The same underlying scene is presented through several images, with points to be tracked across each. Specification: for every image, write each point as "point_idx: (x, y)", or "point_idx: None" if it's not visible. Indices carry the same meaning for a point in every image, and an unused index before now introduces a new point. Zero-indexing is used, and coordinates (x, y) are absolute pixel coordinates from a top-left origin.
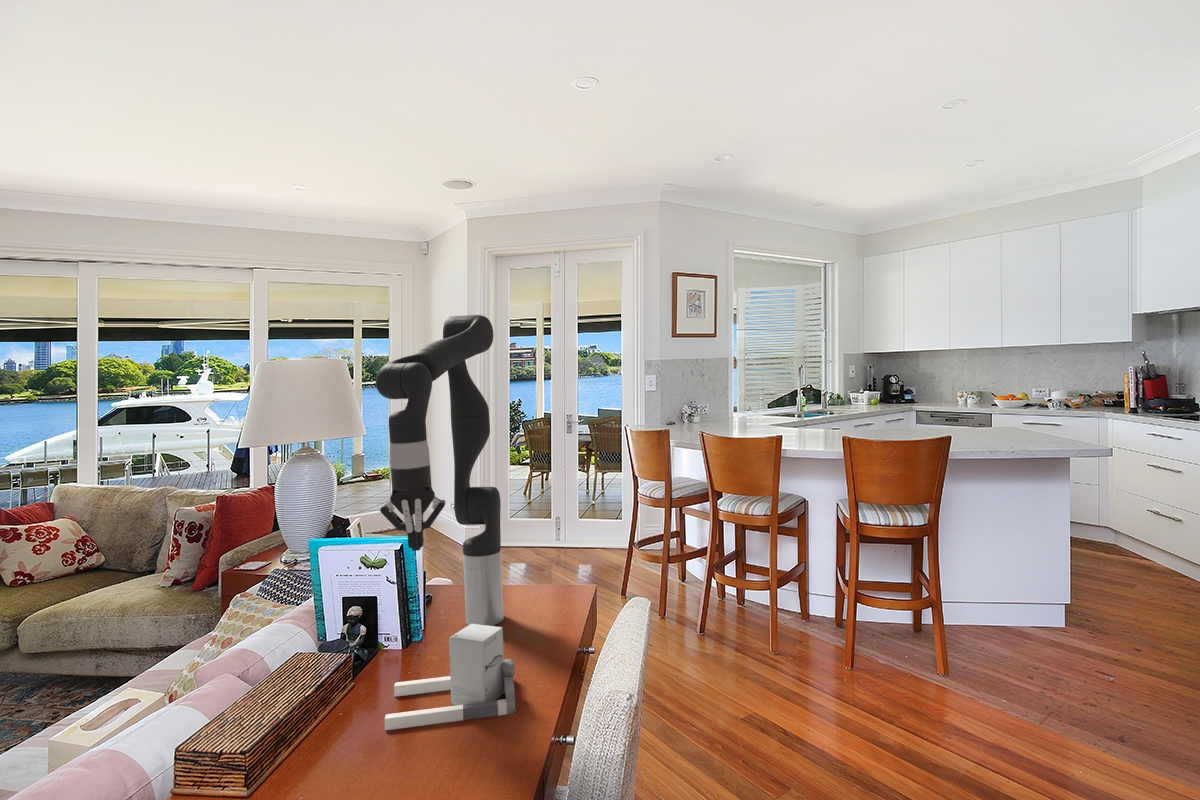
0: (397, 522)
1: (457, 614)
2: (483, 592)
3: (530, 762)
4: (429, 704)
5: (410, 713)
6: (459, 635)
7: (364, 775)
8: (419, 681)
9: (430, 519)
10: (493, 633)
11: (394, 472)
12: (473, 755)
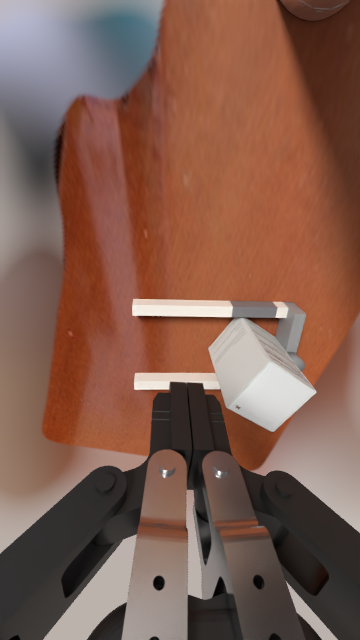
0: (85, 572)
1: None
2: None
3: (266, 448)
4: (181, 339)
5: (162, 385)
6: (243, 408)
7: (129, 439)
8: (168, 311)
9: (297, 572)
10: (296, 410)
11: None
12: None
